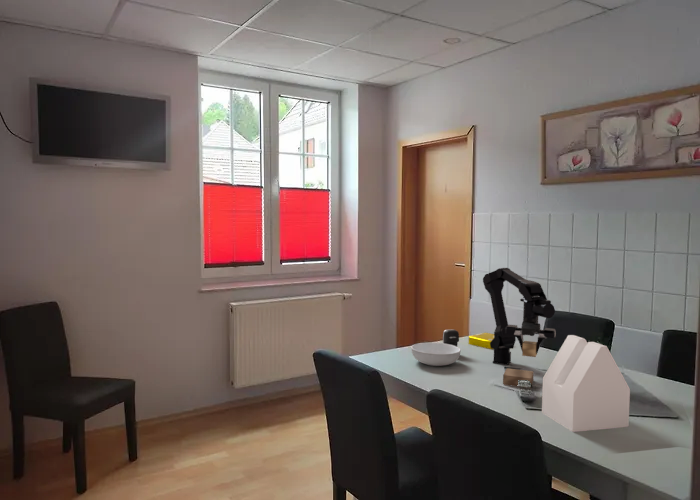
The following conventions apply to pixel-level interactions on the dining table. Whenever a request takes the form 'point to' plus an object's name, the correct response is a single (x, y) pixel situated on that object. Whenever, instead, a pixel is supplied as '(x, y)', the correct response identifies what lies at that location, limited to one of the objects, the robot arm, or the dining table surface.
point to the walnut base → (517, 376)
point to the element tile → (481, 340)
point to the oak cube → (529, 349)
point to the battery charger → (451, 337)
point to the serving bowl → (435, 353)
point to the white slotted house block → (585, 388)
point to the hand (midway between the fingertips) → (529, 352)
